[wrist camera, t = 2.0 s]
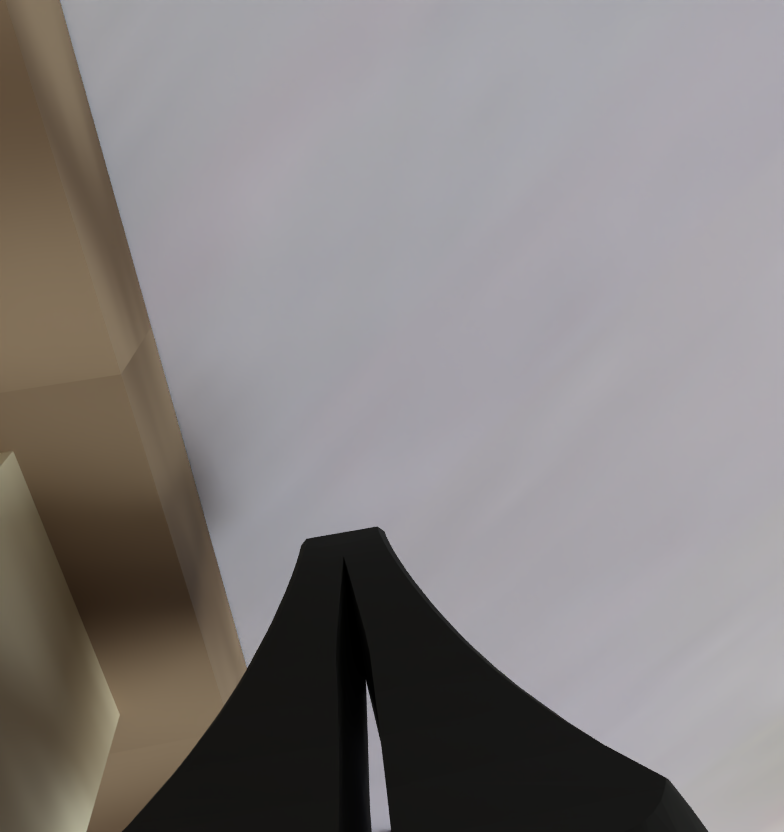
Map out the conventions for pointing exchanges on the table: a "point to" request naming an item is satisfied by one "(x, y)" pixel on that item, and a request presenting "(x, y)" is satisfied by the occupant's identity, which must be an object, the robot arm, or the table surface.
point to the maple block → (45, 680)
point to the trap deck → (101, 424)
